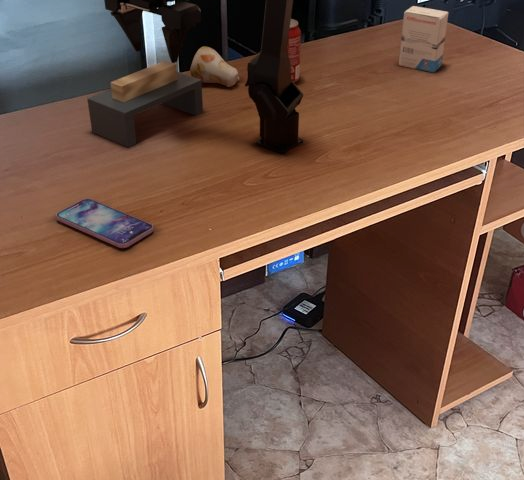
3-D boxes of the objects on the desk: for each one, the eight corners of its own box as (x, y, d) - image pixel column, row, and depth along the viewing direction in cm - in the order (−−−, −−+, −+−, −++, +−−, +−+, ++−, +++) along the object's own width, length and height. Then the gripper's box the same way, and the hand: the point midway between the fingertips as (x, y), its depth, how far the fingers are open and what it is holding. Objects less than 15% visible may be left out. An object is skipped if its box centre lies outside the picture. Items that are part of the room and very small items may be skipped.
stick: (123, 102, 142) (121, 86, 140) (112, 98, 144) (110, 82, 142) (177, 79, 150) (176, 64, 148) (166, 75, 152) (165, 60, 150)
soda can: (304, 77, 169) (306, 20, 161) (291, 88, 164) (293, 30, 156) (275, 72, 171) (276, 15, 163) (262, 83, 166) (262, 25, 158)
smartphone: (87, 197, 127) (156, 225, 121) (87, 202, 128) (156, 231, 121) (52, 214, 123) (122, 245, 116) (53, 220, 123) (123, 251, 117)
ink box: (442, 66, 174) (450, 11, 166) (433, 73, 171) (441, 17, 163) (406, 58, 177) (413, 4, 170) (397, 65, 174) (403, 10, 167)
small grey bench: (203, 112, 155) (201, 79, 150) (128, 147, 143) (124, 113, 139) (166, 99, 160) (164, 67, 155) (91, 132, 148) (87, 98, 143)
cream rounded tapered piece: (233, 94, 162) (207, 52, 157) (202, 104, 169) (176, 63, 163) (251, 74, 166) (226, 31, 160) (220, 84, 172) (195, 43, 167)
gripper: (220, -38, 133) (223, 55, 143) (143, -55, 142) (151, 34, 152) (174, -23, 126) (181, 73, 137) (96, -42, 136) (108, 50, 146)
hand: (156, 56), depth 143 cm, fingers open, 9 cm apart
